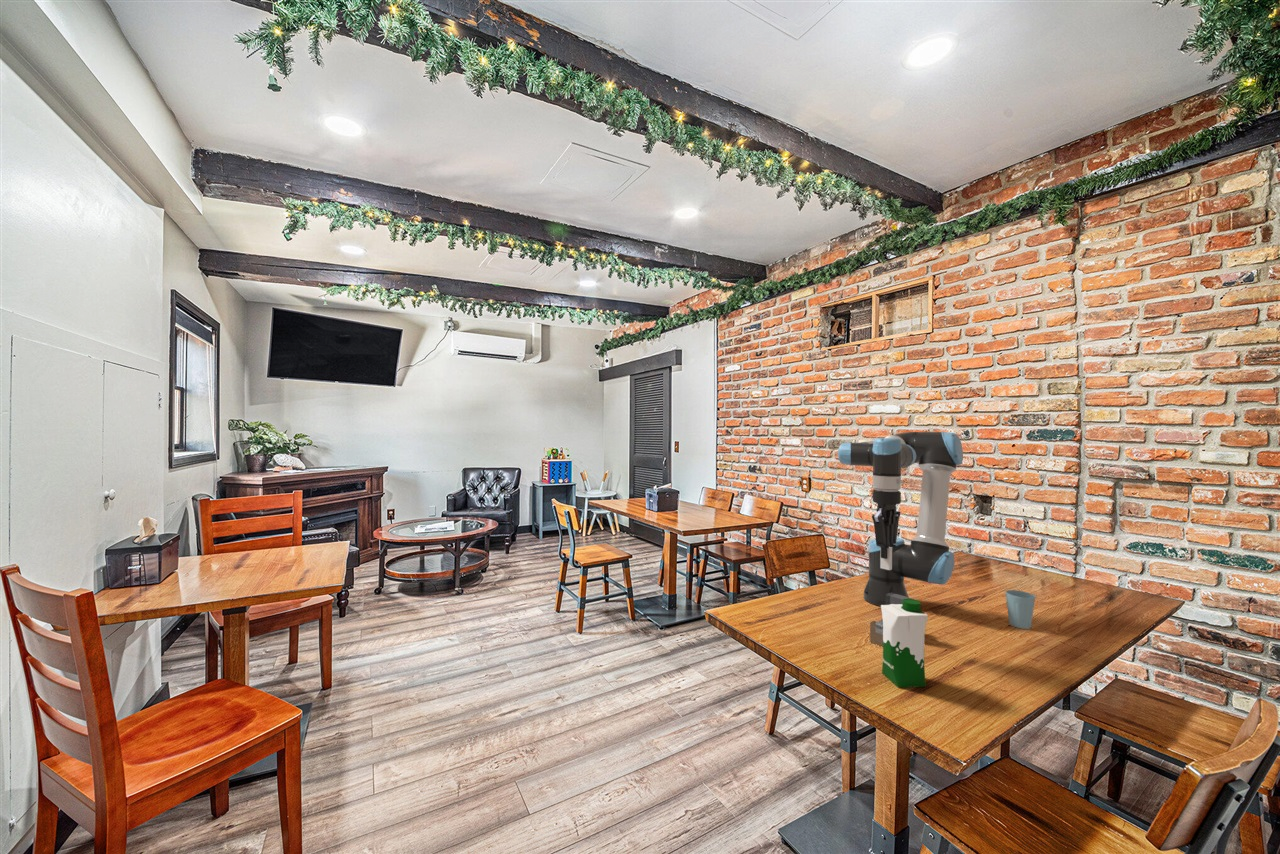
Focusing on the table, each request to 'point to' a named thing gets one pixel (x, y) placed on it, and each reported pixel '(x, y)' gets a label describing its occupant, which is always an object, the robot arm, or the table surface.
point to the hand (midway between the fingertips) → (886, 568)
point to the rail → (876, 632)
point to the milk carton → (904, 643)
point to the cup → (1020, 608)
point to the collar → (894, 598)
